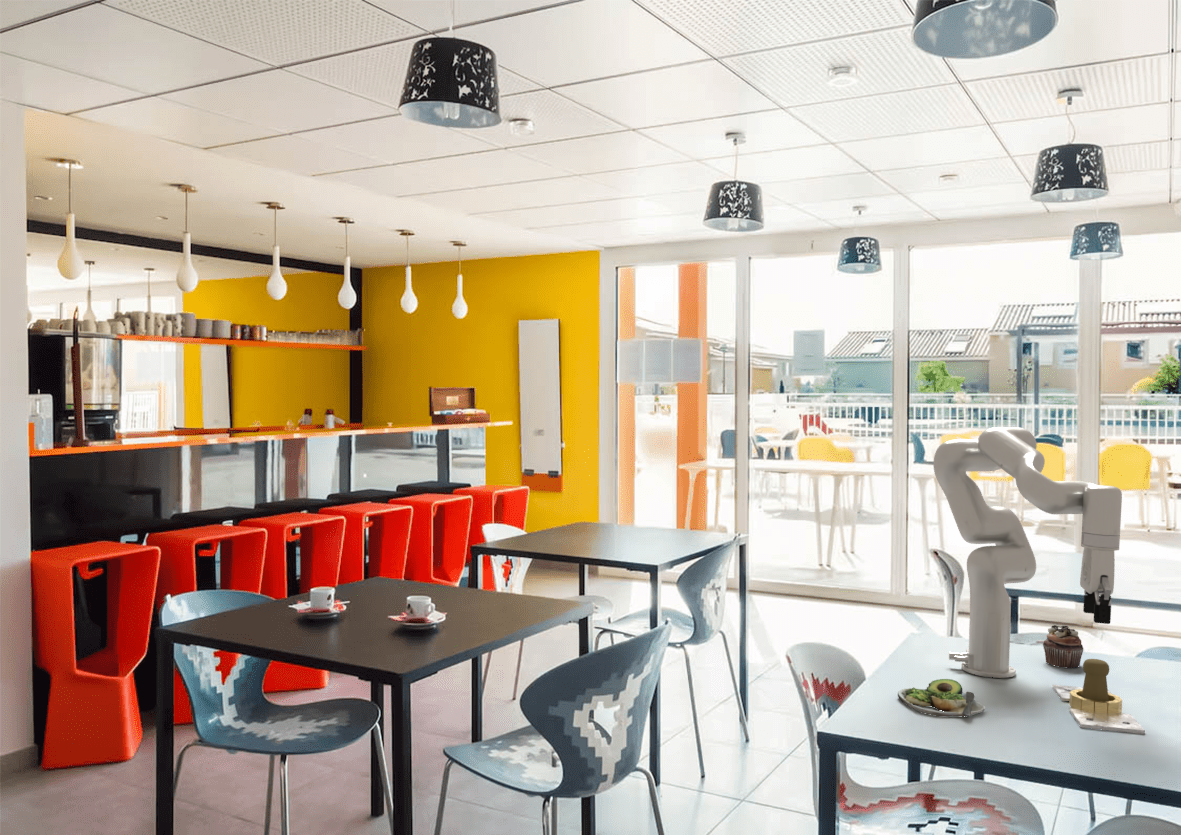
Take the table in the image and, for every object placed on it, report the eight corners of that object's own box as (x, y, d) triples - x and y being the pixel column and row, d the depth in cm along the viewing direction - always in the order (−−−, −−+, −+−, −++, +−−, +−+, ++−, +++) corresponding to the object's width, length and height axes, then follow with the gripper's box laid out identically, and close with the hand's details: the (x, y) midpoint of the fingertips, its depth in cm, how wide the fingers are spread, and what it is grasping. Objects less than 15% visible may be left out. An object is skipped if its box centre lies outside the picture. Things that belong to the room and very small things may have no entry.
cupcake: (1091, 668, 249) (1093, 629, 249) (1058, 669, 247) (1060, 630, 247) (1066, 658, 259) (1067, 621, 259) (1034, 660, 257) (1035, 622, 257)
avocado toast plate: (1005, 724, 204) (1006, 702, 204) (922, 722, 204) (922, 701, 204) (966, 696, 224) (967, 676, 224) (890, 695, 223) (890, 675, 223)
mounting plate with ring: (1080, 727, 202) (1081, 713, 202) (1052, 687, 231) (1052, 675, 231) (1145, 734, 199) (1145, 719, 199) (1107, 693, 228) (1108, 680, 228)
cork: (1109, 715, 211) (1110, 665, 211) (1078, 710, 214) (1079, 660, 214) (1111, 708, 216) (1112, 659, 216) (1080, 703, 219) (1082, 654, 219)
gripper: (1073, 534, 224) (1069, 608, 224) (1090, 546, 207) (1086, 625, 207) (1109, 536, 222) (1105, 611, 222) (1129, 548, 205) (1125, 628, 206)
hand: (1096, 618), depth 215 cm, fingers open, 9 cm apart
